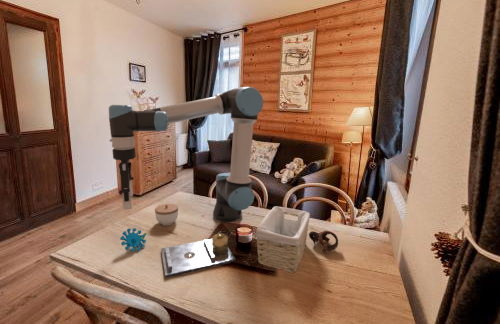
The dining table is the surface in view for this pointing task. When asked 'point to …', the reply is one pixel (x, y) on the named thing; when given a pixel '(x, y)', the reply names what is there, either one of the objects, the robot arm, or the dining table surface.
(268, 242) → the storage basket
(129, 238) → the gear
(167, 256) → the board
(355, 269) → the dining table surface
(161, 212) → the lidded jar
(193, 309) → the dining table surface
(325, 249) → the dark brown ring ornament
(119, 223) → the dining table surface
